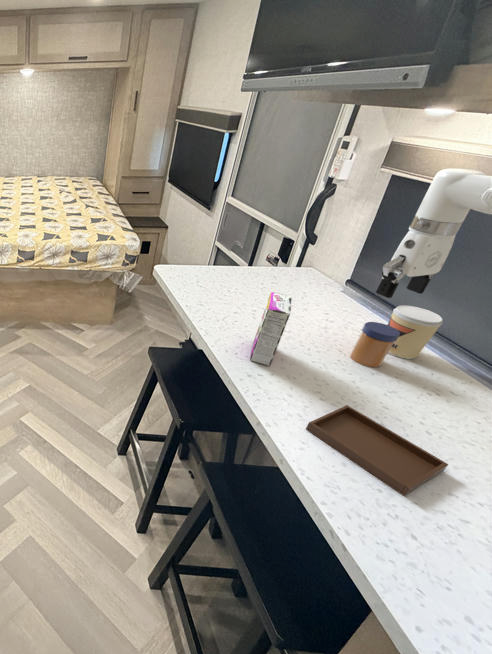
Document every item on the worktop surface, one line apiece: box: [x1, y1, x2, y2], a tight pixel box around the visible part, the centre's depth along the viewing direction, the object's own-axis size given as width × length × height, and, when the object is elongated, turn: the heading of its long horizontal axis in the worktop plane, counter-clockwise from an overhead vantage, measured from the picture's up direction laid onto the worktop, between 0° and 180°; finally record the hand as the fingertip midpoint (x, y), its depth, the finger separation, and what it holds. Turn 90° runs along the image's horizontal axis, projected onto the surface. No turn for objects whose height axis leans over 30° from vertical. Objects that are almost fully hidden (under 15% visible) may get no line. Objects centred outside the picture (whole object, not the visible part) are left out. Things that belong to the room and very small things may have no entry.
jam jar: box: [349, 330, 395, 368], centre depth 104 cm, size 6×6×10 cm
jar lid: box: [361, 321, 400, 342], centre depth 102 cm, size 7×7×2 cm
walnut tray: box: [305, 404, 449, 497], centre depth 80 cm, size 17×13×2 cm
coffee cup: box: [387, 305, 443, 360], centre depth 107 cm, size 9×9×12 cm
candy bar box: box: [249, 291, 293, 367], centre depth 105 cm, size 11×5×16 cm, turn 145°
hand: (398, 293), depth 98 cm, fingers open, 9 cm apart
